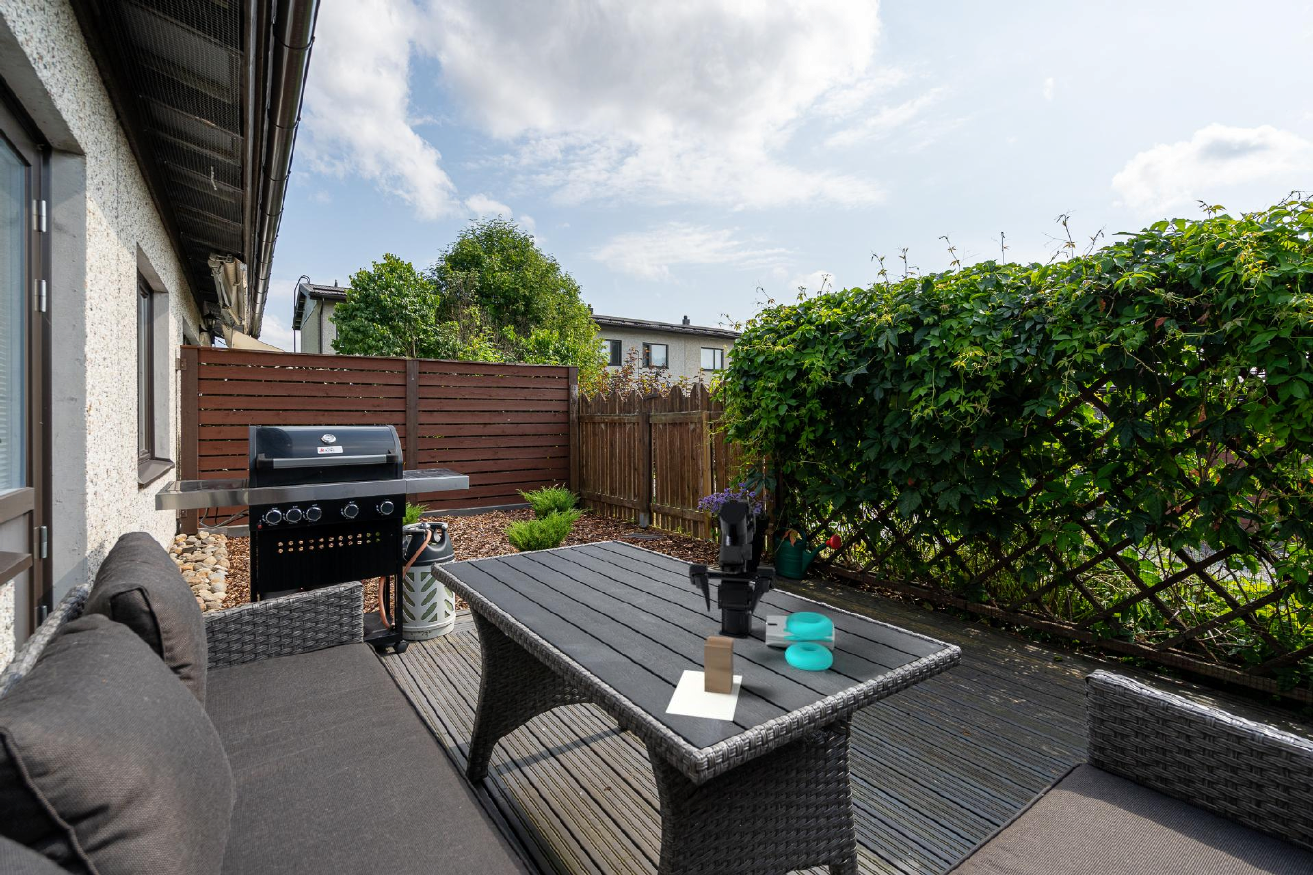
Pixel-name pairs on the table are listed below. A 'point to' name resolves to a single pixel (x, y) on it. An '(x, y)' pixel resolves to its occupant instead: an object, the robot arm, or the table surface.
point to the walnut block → (718, 665)
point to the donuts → (807, 652)
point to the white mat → (703, 698)
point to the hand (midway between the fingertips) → (730, 612)
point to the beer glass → (784, 638)
